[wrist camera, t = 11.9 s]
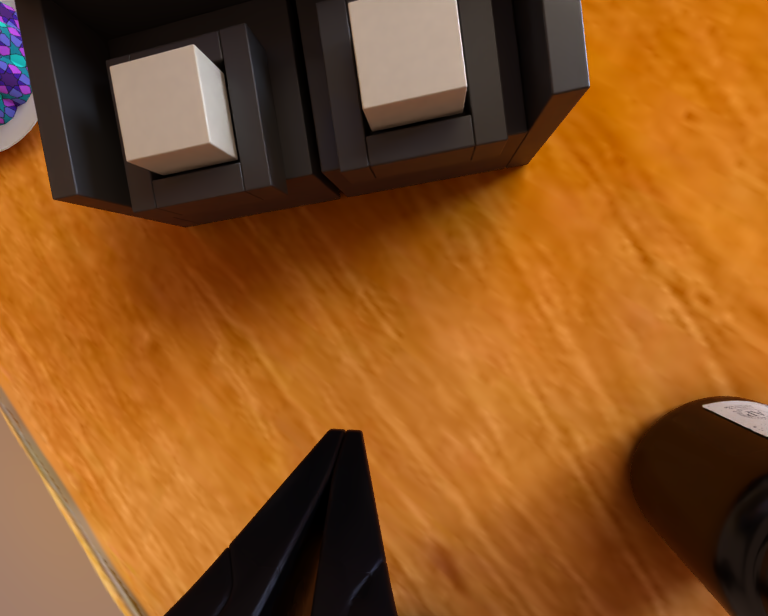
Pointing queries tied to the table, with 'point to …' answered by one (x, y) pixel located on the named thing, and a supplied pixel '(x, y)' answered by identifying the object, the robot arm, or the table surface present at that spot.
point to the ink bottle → (711, 495)
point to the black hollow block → (173, 3)
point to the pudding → (13, 81)
